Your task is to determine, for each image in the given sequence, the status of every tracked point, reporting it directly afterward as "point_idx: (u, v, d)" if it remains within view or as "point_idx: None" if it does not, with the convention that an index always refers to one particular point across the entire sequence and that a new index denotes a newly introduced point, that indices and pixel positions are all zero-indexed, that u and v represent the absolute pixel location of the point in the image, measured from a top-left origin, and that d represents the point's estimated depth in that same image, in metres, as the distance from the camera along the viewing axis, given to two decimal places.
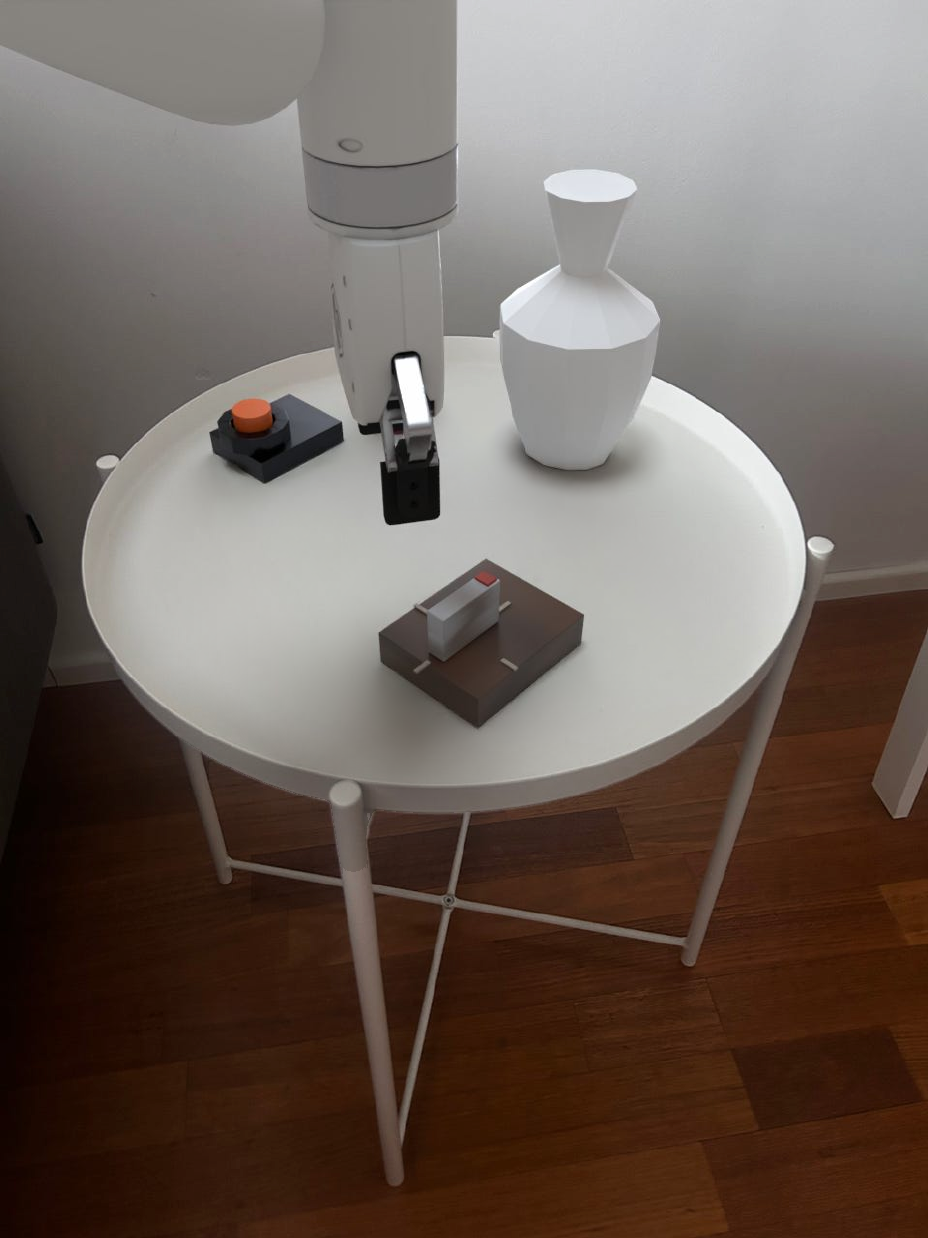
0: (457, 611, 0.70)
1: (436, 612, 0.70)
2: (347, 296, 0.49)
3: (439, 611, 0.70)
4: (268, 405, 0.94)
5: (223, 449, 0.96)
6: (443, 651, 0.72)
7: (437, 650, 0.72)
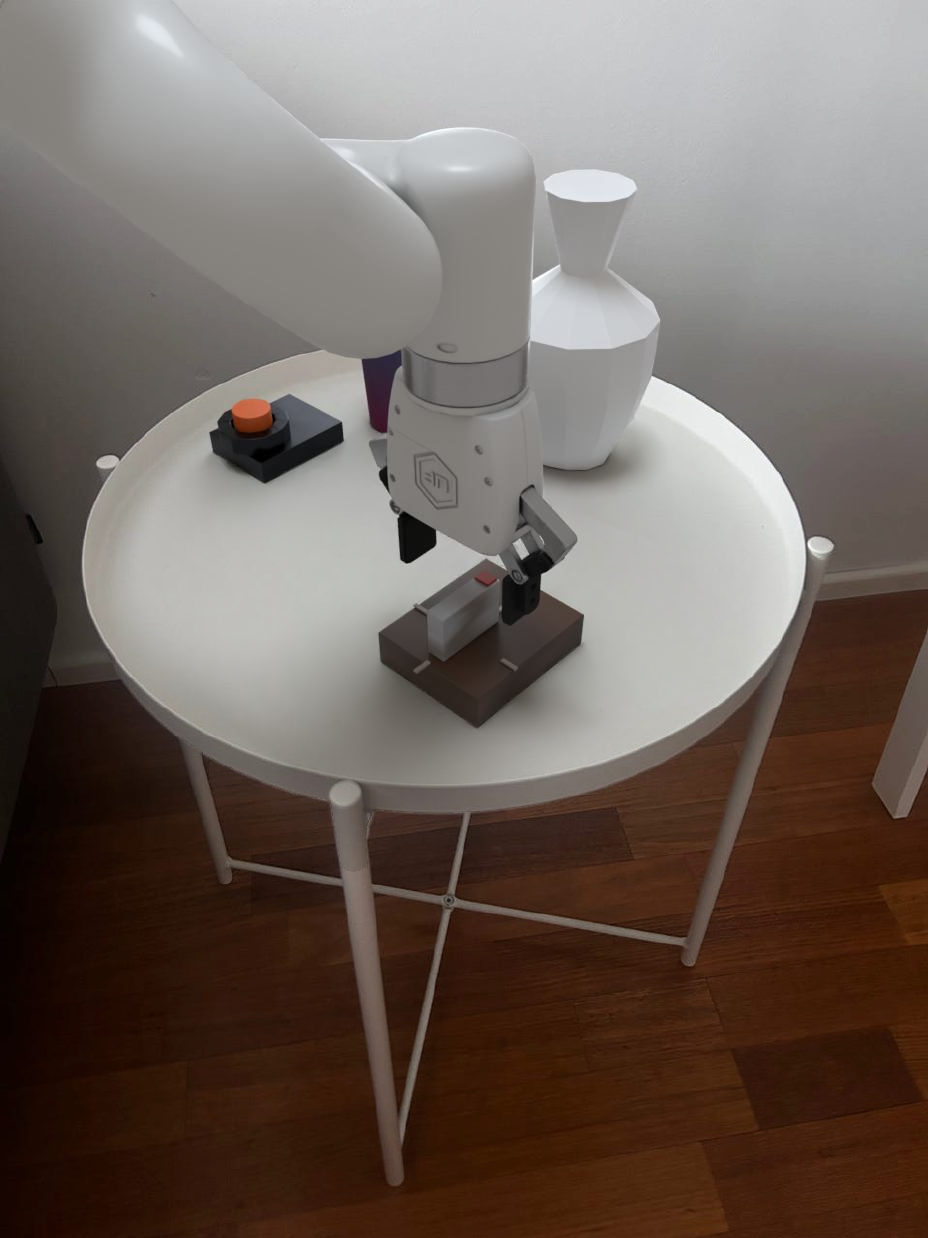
0: (457, 611, 0.70)
1: (436, 612, 0.70)
2: (484, 461, 0.59)
3: (439, 611, 0.70)
4: (268, 405, 0.94)
5: (223, 449, 0.96)
6: (443, 651, 0.72)
7: (437, 650, 0.72)
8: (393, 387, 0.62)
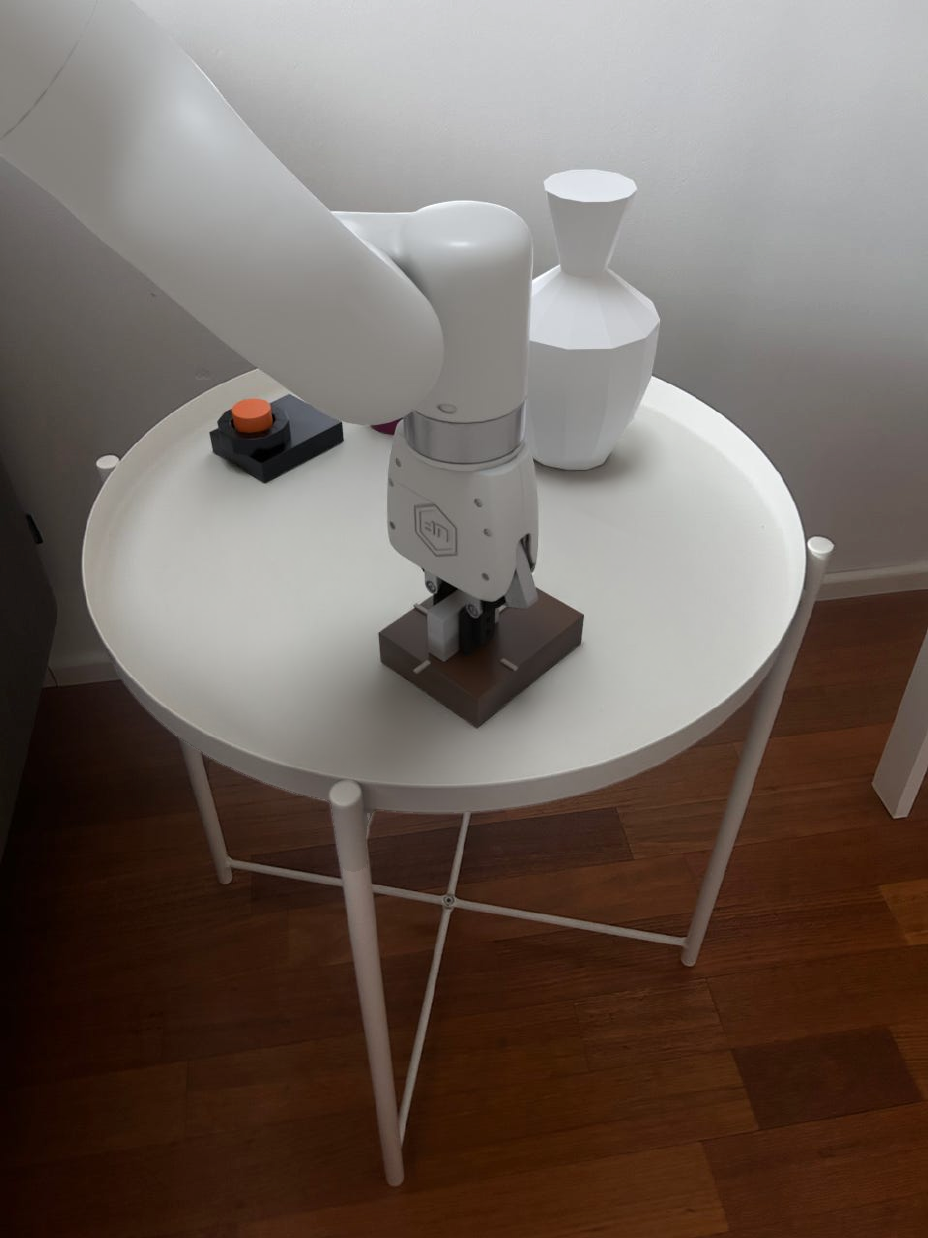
0: (457, 611, 0.70)
1: (437, 612, 0.70)
2: (484, 513, 0.61)
3: (439, 611, 0.70)
4: (268, 405, 0.94)
5: (223, 449, 0.96)
6: (443, 651, 0.72)
7: (437, 650, 0.72)
8: (394, 441, 0.64)
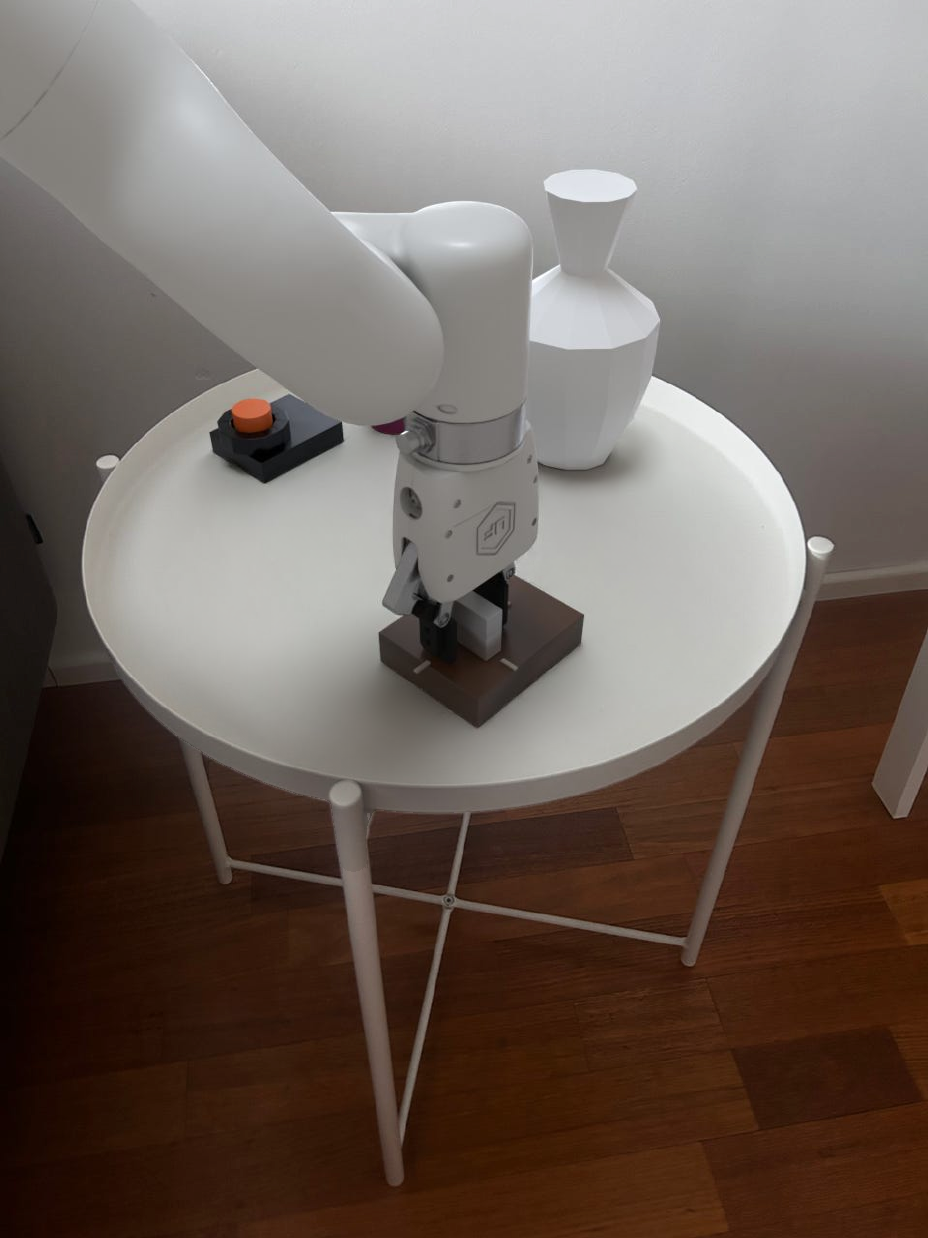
0: (486, 600, 0.71)
1: (490, 613, 0.70)
2: (533, 464, 0.65)
3: (487, 611, 0.70)
4: (268, 405, 0.94)
5: (223, 449, 0.96)
6: None
7: (495, 647, 0.72)
8: (448, 489, 0.60)
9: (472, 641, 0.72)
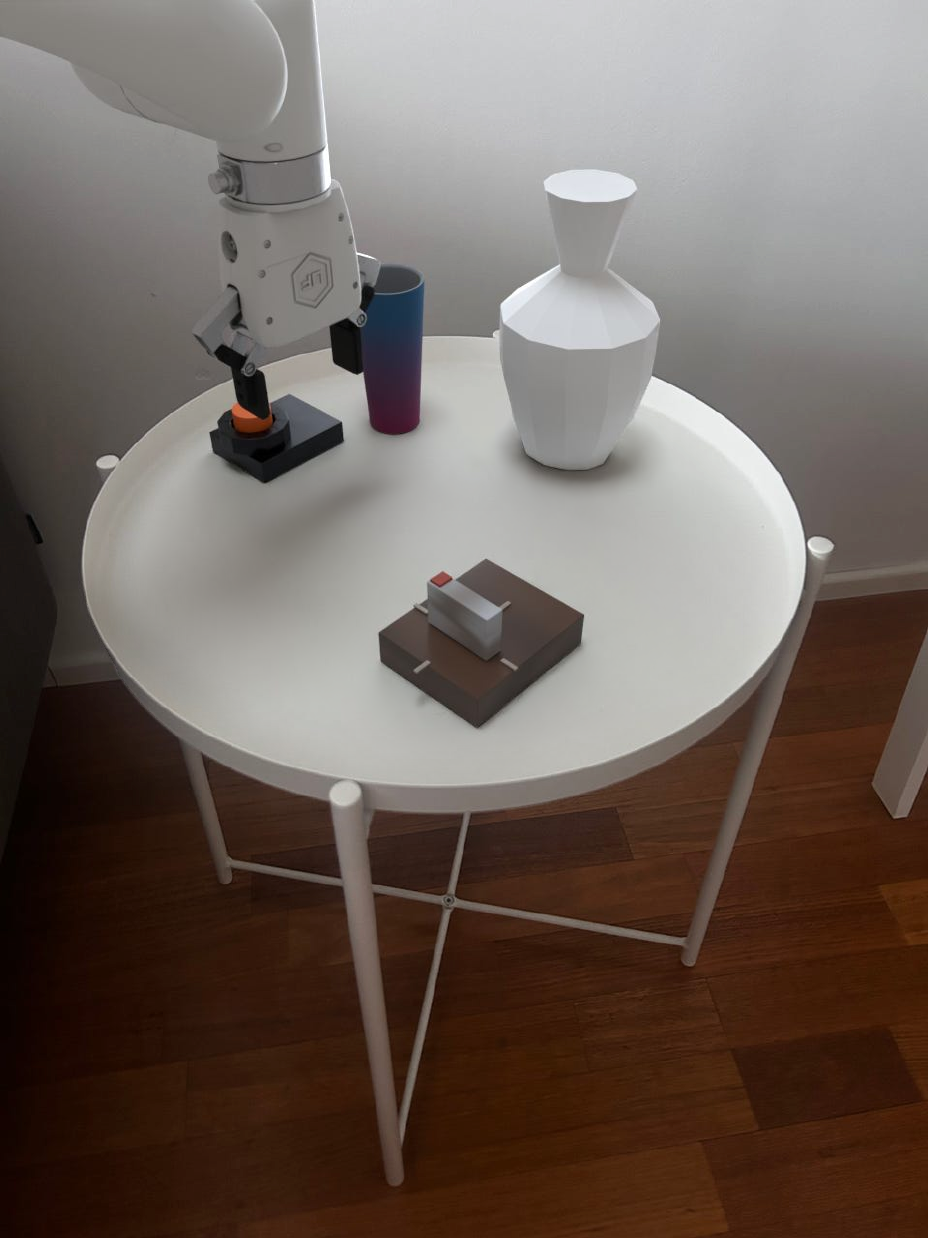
0: (486, 600, 0.71)
1: (490, 613, 0.70)
2: (346, 223, 0.74)
3: (487, 611, 0.70)
4: None
5: (223, 449, 0.96)
6: None
7: (495, 647, 0.72)
8: (256, 227, 0.69)
9: (472, 641, 0.72)
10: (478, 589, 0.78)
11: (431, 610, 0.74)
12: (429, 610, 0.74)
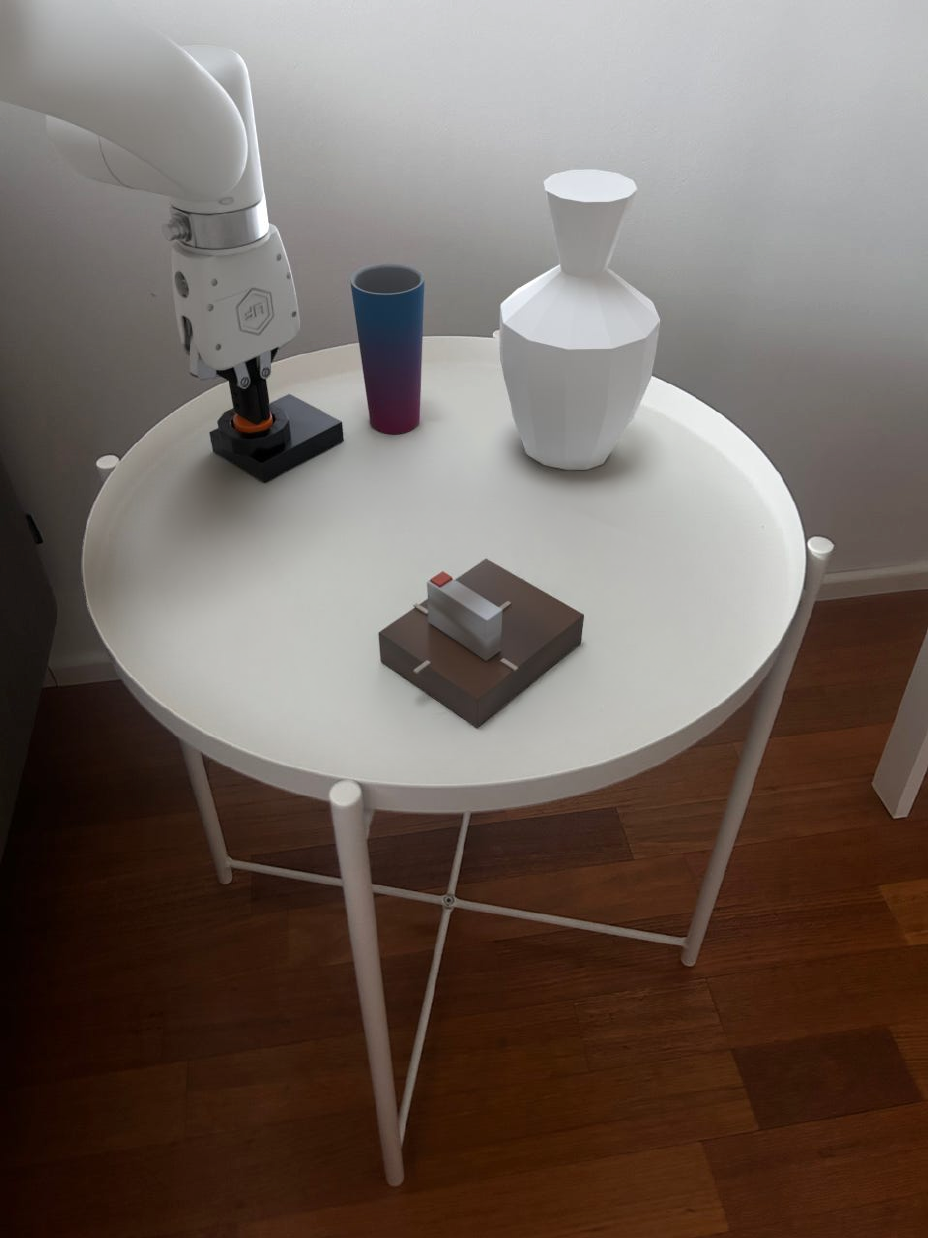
0: (486, 600, 0.71)
1: (490, 613, 0.70)
2: (283, 262, 0.86)
3: (487, 611, 0.70)
4: None
5: (223, 449, 0.96)
6: None
7: (495, 647, 0.72)
8: (204, 268, 0.80)
9: (472, 641, 0.72)
10: (478, 589, 0.78)
11: (431, 610, 0.74)
12: (429, 610, 0.74)
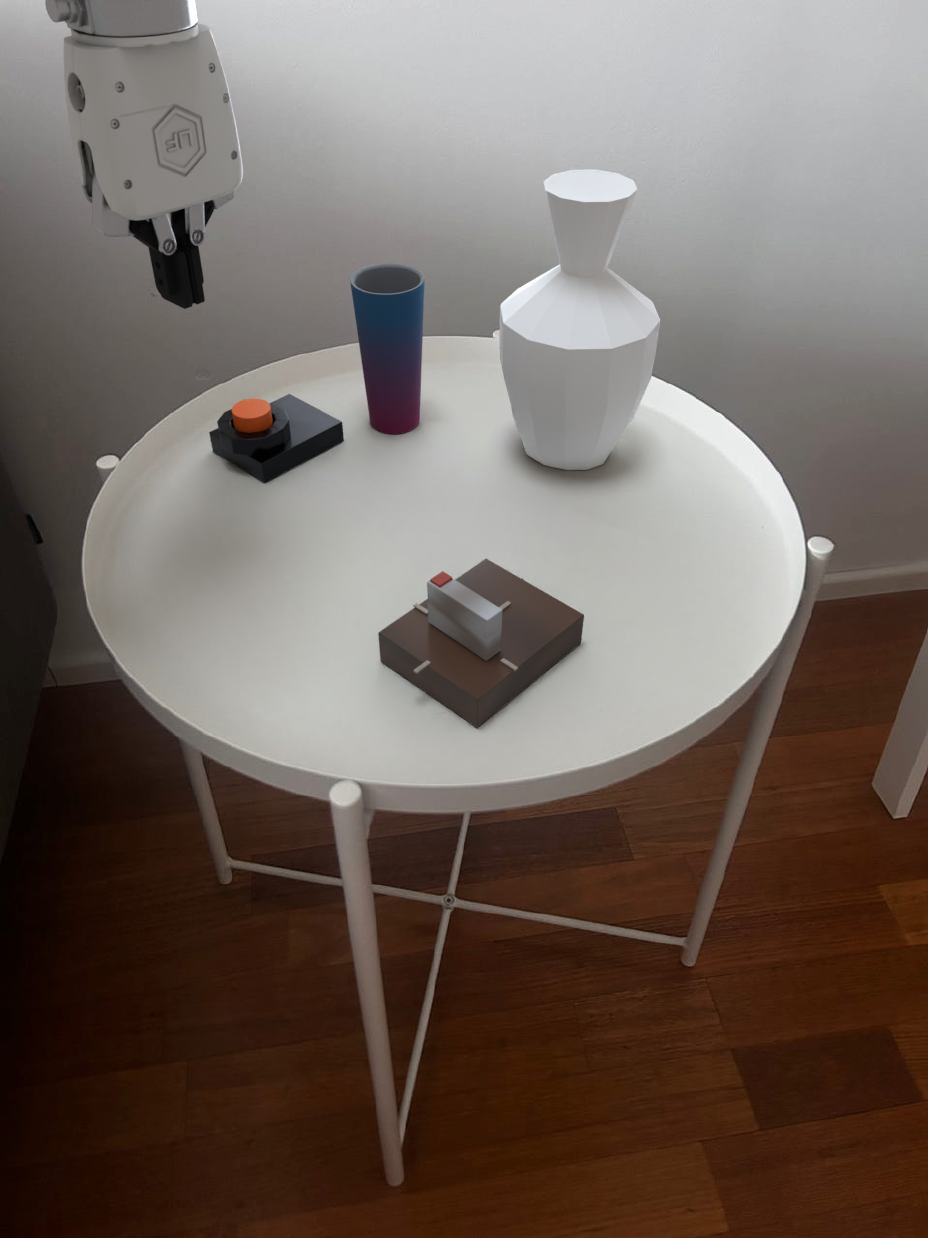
0: (486, 600, 0.71)
1: (490, 613, 0.70)
2: (218, 76, 0.64)
3: (487, 611, 0.70)
4: (268, 405, 0.94)
5: (223, 449, 0.96)
6: None
7: (495, 647, 0.72)
8: (105, 64, 0.59)
9: (472, 641, 0.72)
10: (478, 589, 0.78)
11: (431, 610, 0.74)
12: (429, 610, 0.74)
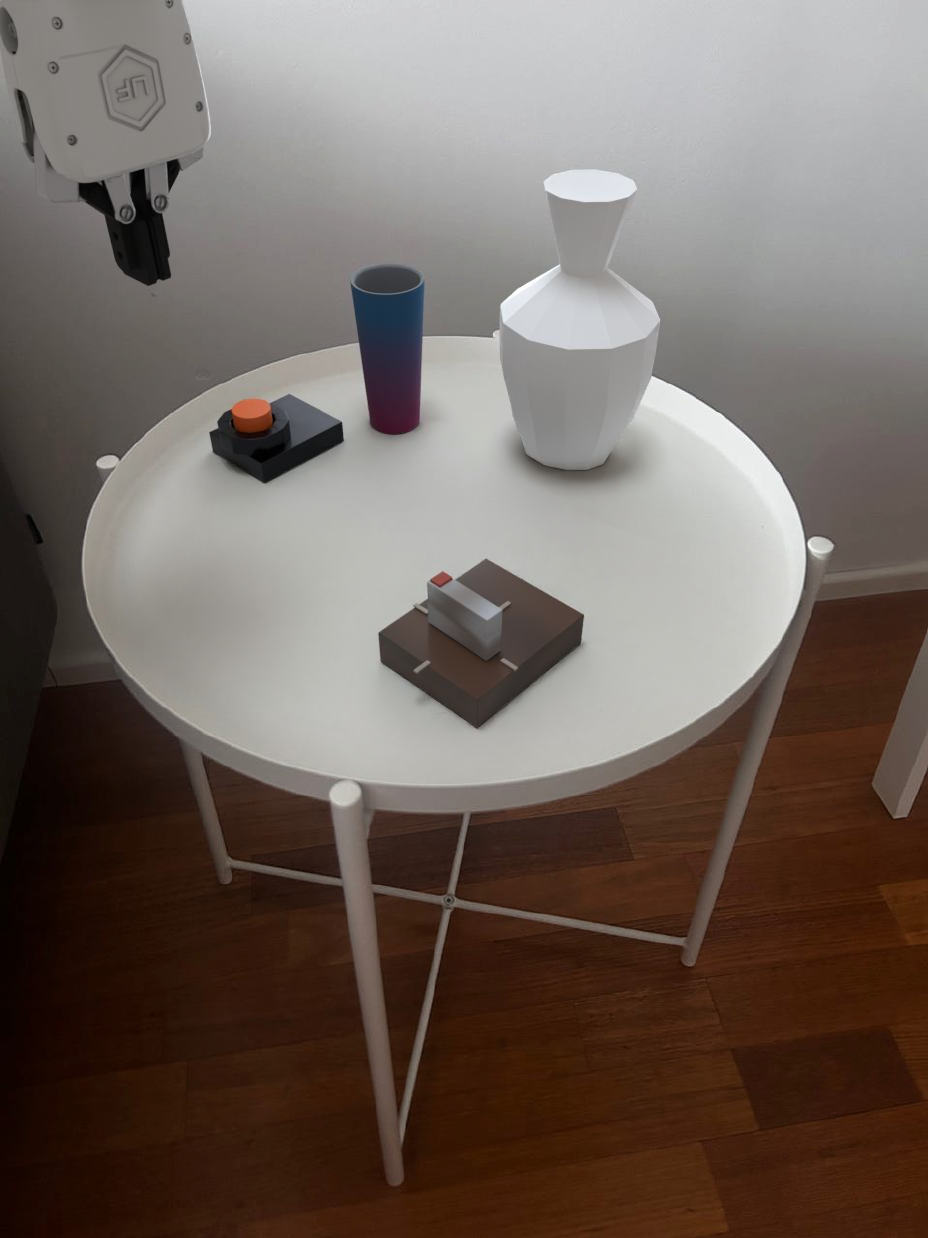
0: (486, 600, 0.71)
1: (490, 613, 0.70)
2: (178, 12, 0.55)
3: (487, 611, 0.70)
4: (268, 405, 0.94)
5: (223, 449, 0.96)
6: None
7: (495, 647, 0.72)
8: None
9: (472, 641, 0.72)
10: (478, 589, 0.78)
11: (431, 610, 0.74)
12: (429, 610, 0.74)
